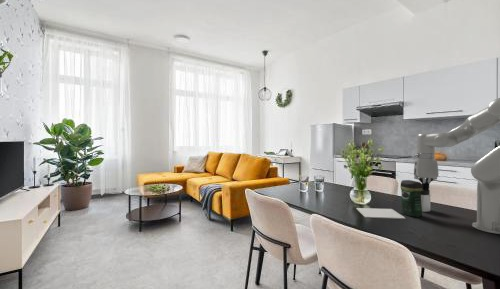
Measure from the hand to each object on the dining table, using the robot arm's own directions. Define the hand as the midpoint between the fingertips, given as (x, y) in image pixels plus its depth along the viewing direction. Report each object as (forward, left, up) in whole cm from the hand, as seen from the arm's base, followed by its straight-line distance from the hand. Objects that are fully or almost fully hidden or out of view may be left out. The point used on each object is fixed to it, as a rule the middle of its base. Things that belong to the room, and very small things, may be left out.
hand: (425, 190), depth 128 cm
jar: (+10, -3, -14) cm, 17 cm away
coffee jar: (0, +7, -14) cm, 15 cm away
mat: (0, +23, -13) cm, 27 cm away
